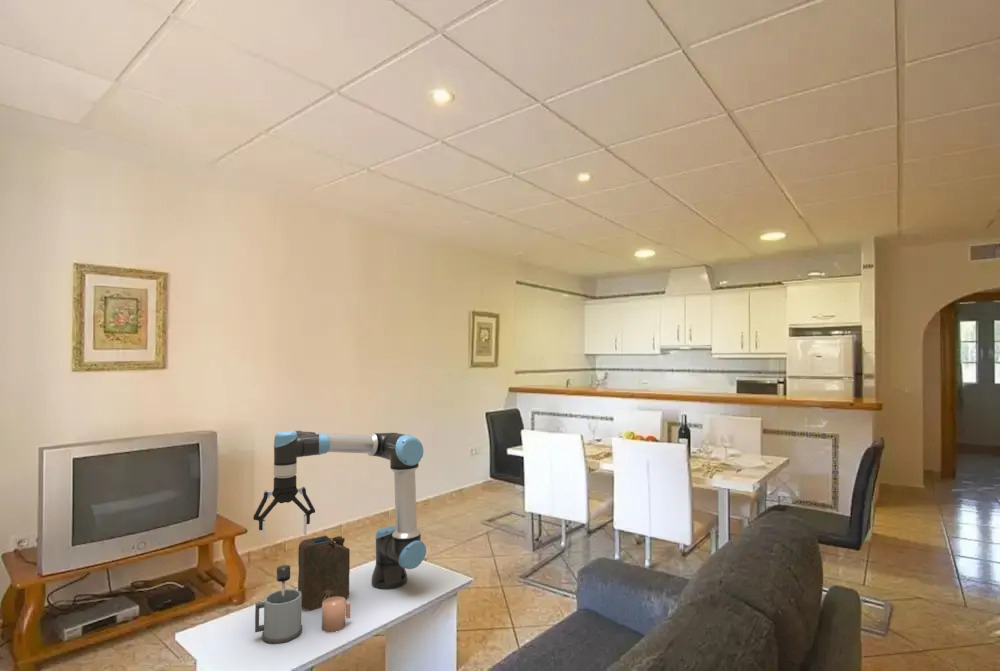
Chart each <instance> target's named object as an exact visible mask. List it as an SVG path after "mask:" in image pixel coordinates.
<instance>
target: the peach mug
mask: <svg viewBox="0 0 1000 671" xmlns="http://www.w3.org/2000/svg"><path fill="white" fill-rule="evenodd" d="M321 608H322V609H321V611H322V612H321V629H322V631H323V632H324V631H325V633H337V632H339V631H341V630H344V629H345V627H346V619H347V620H348V619H351V601H346V599H345V598H344V597H340V596H335V597H330V598H327V599H325V600H324V601H323V602H322V607H321ZM336 631H337V632H336Z"/></svg>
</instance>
